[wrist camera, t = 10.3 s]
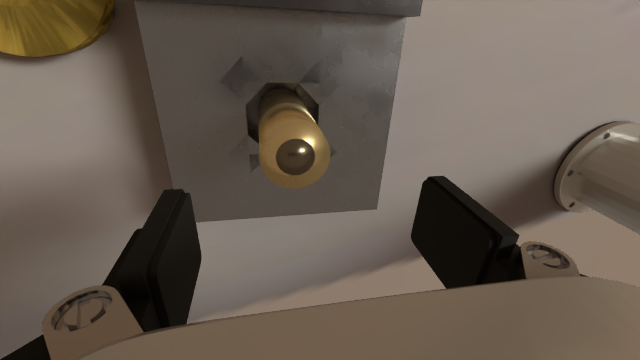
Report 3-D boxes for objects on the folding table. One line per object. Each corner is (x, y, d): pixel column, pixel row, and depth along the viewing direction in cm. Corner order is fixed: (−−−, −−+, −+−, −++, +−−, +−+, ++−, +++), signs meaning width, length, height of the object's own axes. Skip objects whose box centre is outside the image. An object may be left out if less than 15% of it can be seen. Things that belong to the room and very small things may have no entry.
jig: (385, -2, 25) (424, -11, 19) (362, 187, 33) (384, 220, 27) (151, -19, 21) (112, -37, 15) (190, 197, 29) (174, 237, 24)
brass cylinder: (305, 88, 25) (332, 122, 16) (304, 134, 26) (328, 187, 18) (256, 88, 24) (257, 123, 15) (259, 135, 26) (260, 191, 17)
